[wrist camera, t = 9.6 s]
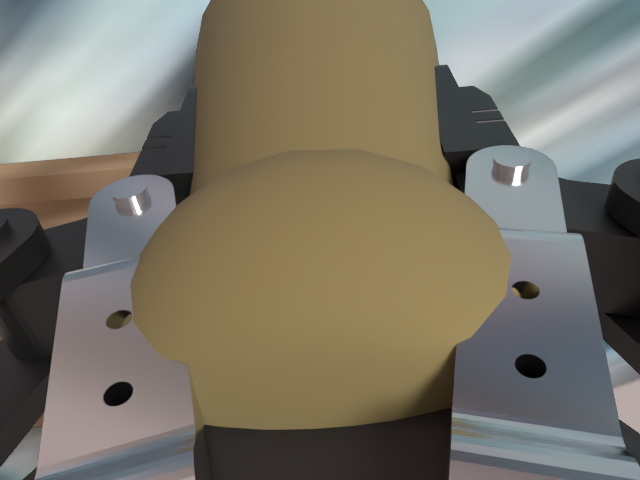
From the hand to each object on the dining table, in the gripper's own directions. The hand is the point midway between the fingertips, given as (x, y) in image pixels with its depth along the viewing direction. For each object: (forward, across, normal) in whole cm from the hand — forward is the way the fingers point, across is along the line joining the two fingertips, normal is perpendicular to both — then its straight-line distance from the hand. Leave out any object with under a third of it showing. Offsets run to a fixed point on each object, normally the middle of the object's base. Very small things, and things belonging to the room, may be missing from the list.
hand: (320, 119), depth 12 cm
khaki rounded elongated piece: (+3, 0, 0) cm, 3 cm away
